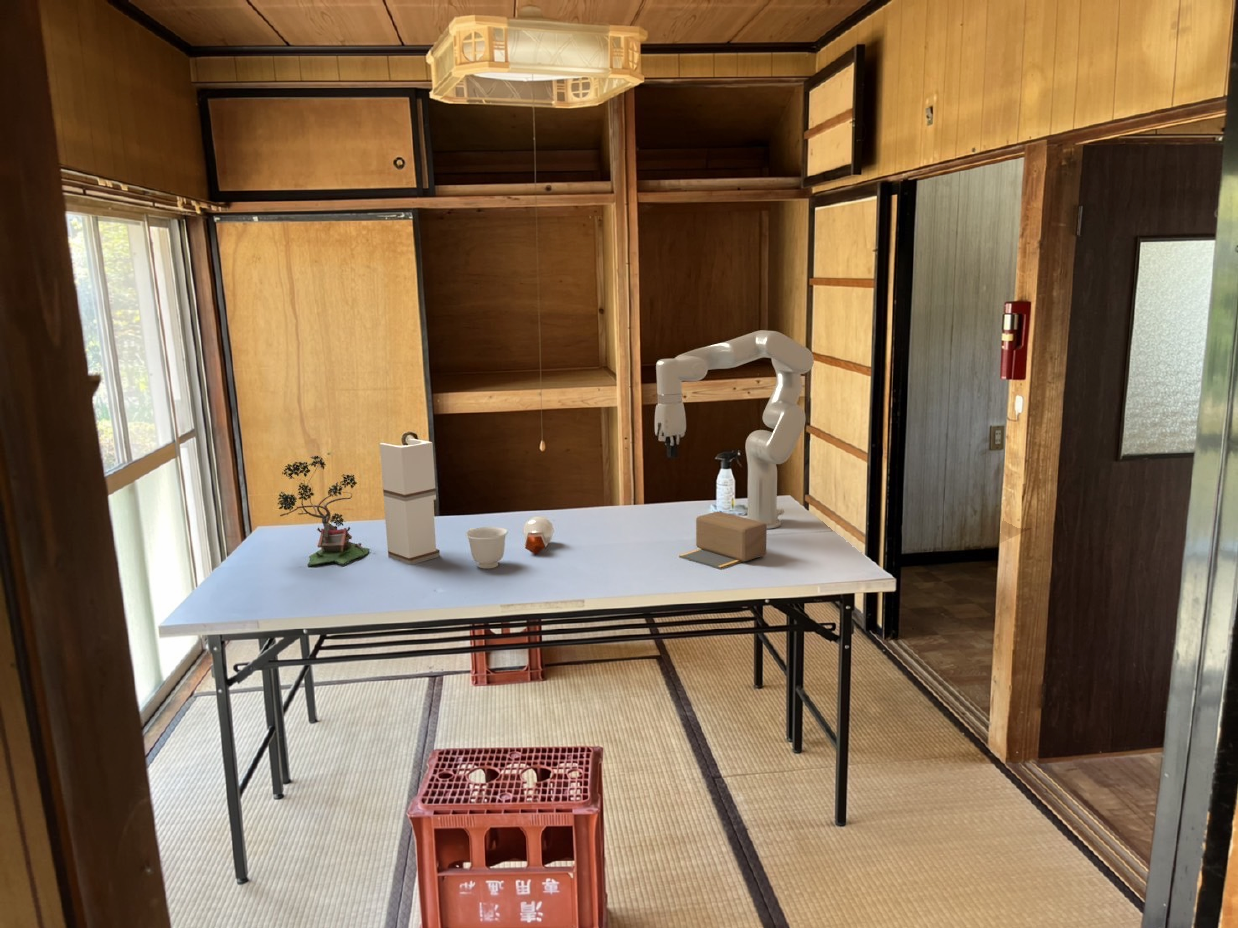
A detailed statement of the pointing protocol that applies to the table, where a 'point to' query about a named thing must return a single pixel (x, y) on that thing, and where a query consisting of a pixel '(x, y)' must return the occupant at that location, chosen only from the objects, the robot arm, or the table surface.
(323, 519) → the bonsai tree
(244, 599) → the table surface
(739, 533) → the block
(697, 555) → the mat
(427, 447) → the white banded pillar
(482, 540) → the teacup
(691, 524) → the table surface
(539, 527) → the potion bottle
